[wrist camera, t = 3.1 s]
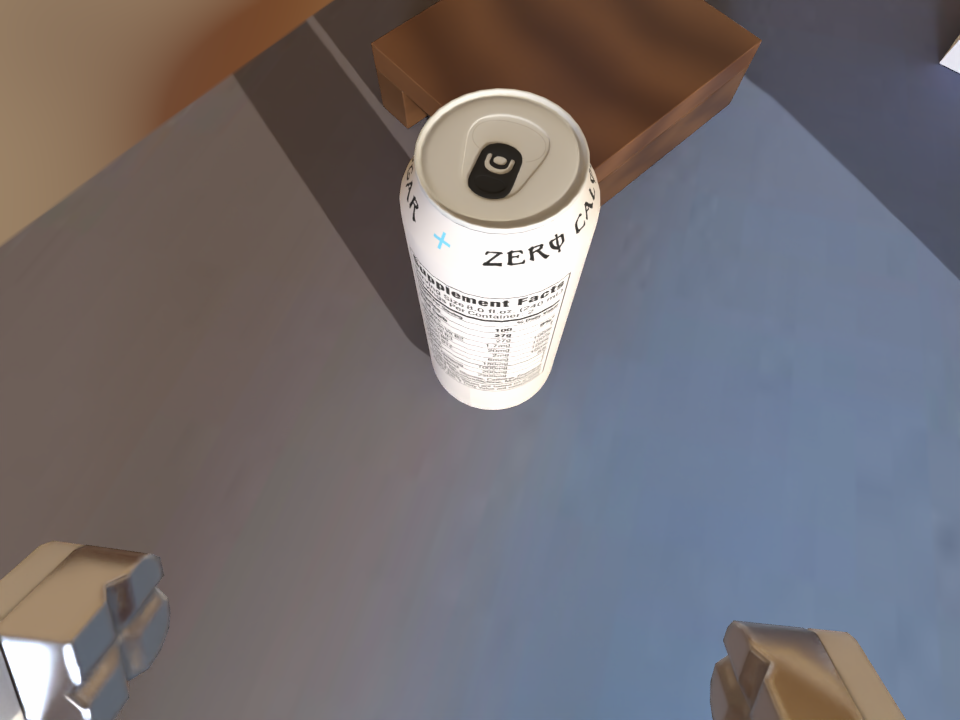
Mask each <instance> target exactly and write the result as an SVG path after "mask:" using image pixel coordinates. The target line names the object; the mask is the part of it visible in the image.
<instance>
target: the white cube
mask: <svg viewBox="0 0 960 720" xmlns="http://www.w3.org/2000/svg"><path fill="white" fill-rule="evenodd" d="M940 64H942V65H944V66H946V67H948V68H950V69H952V70H954V71H956V72H958V73H960V35H959V36H958V37H957V39H956V40H955V42H954V43H953V44H952V46H951V47H950V49H949V50H948V51H947V53H946V54H945V56H944V57H943V59H942V60H941V61H940Z"/></svg>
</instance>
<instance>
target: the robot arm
mask: <svg viewBox="0 0 960 720" xmlns="http://www.w3.org/2000/svg"><path fill="white" fill-rule="evenodd" d="M163 576H164V572H163V568H162V564H161V560H160V557H158V556H155V555H153V554H148V553H141V552H134V551H127V550H120V549H113V548H106V547H99V546H92V545H79V544H72V543H66V542H59V541H51V542H49V543H46V544H43V545H40V546H39V547H38V548H37V549H35V550H34V551H33V552H32V553H31V554H30V555H29V556H28V557H26V558H25V559H24V560H23V561H22V562H21V563H20V564H19V565H17V566H16V567H15V568H14V569H13V570H12V571H11V572H10V573H8V574H7V575H6V576H5V577H4V578H3V579H2V580H1V581H0V720H114V719H115V718H116V716H117V715H118V713H119V712H120V710H121V709H122V707H123V706H124V704H125V703H126V701H127V700H128V698H129V686H128V681H130V680H131V679H133V678H134V677H136V676H138V675H139V674H141V673H142V672H144V671H145V670H147V669H149V667H150V666H151V664H152V663H153V661H154V660H155V658H156V657H157V655H158V654H159V652H160V650H161V648H162V646H163V643H164V640H165V637H166V635H167V632H168V629H169V622H170V606H169V600H168V598H167V597H166V596H165V595H164V594H163V593H162V592H161V591H160V590H159V589H158V587H157V586H156V585H157V584H158V583H159V581H160V580H161V579H162V577H163ZM723 642H724V645H725V647H726V650H727V653H728V655H727V656H726V657H724V658H723V659H721V660H720V661H719V662H717V663H716V664H715V667H714V671H713V674H712V678H711V683H710V705H711V711H712V718H713V720H906V719H905V717H904V716H903V714H902V713H901V711H900V709H899V708H898V706H897V705H896V703H895V701H894V700H893V698H892V697H891V695H890V693H889V692H888V690H887V688H886V687H885V685H884V684H883V682H882V680H881V679H880V677H879V676H878V674H877V672H876V671H875V669H874V668H873V666H872V664H871V663H870V661H869V660H868V658H867V656H866V655H865V653H864V652H863V650H862V648H861V647H860V645H859V644H858V642H857V641H856V639H855V638H854V637H852V636H851V635H850V634H849V633H847V632H840V631H830V630H820V629H811V628H809V629H805V628H801V627H791V626H781V625H772V624H762V623H753V622H743V621H733V622H732V623H731V624H730V625H729V626H728V628H727V630H726V633H725V636H724V639H723Z"/></svg>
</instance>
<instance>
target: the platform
mask: <svg viewBox="0 0 960 720" xmlns="http://www.w3.org/2000/svg"><path fill="white" fill-rule="evenodd" d="M761 41H762V40H761V39H759V38H758V37H756V36H755V35H753V34H752V33H750V32H749V31H748V30H746V29H745V28H743V27H742V26H740V25H739V24H737V23H736V22H734V21H733V20H731V19H730V18H729V17H727V16H726V15H724V14H723V13H721V12H720V11H718V10H717V9H715V8H714V7H712V6H711V5H710V4H708V3H707V2H705V1H704V0H440V1H439V2H437V3H436V4H434V5H432V6H431V7H429V8H427V9H426V10H424V11H423V12H421V13H419V14H418V15H416V16H414V17H413V18H411V19H410V20H408V21H406V22H405V23H403V24H401V25H400V26H398V27H397V28H395V29H393V30H392V31H390V32H389V33H387V34H385V35H384V36H382V37H380V38H379V39H377V40H376V41H374V42H372V43H371V46H372V51H373V56H374V61H375V66H376V70H377V75H378V81H379V86H380V91H381V96H382V101H383V106H384V107H385V108H386V109H387V110H388V111H389V112H390V113H391V114H392V115H393V116H395V117H396V118H397V119H398V120H399V121H400V122H401V123H402V124H403V125H404V126H405V127H406V128H410V127H412V126H413V125H415V124H416V123H417V122H419V121H420V120H422V119H423V118H425V117H426V116H428V115H429V116H430V117H431V116H432V115H433V114H434V113H435V112H436V111H437V110H438V109H440V108H441V107H443V106H444V105H446V104H447V103H449V102H450V101H452V100H454V99H456V98H458V97H460V96H463V95H465V94H468V93H472V92H476V91H479V90H486V89H495V88H503V89H516V90H521V91H527V92H531V93H533V94H536V95H539V96H542V97H544V98H546V99H548V100H550V101H552V102H553V103H555V104H557V105H559V106H560V107H561V108H562V109H563V110H565V111H566V112H567V113H568V114H569V115H570V116H571V117H572V118H573V119H574V120H575V122H576V123H577V124H578V125H579V127H580V128H581V130H582V132H583V134H584V136H585V138H586V141H587V145H588V149H589V153H590V164H591V166H592V168H593V170H594V172H595V174H596V178H597V182H598V185H599V189H600V207H601V206H602V205H603V204H604V203H606V202H607V201H608V200H609V199H611V198H612V197H613V196H615V195H616V194H617V193H618V192H620V191H621V190H622V189H623V188H625V187H626V186H627V185H628V184H630V183H631V182H632V181H633V180H635V179H636V178H637V177H638V176H640V175H641V174H642V173H643V172H645V171H646V170H647V169H648V168H650V167H651V166H652V165H653V164H655V163H656V162H657V161H658V160H660V159H661V158H662V157H663V156H665V155H666V154H667V153H668V152H670V151H671V150H672V149H673V148H675V147H676V146H677V145H678V144H680V143H681V142H682V141H683V140H685V139H686V138H687V137H688V136H690V135H691V134H692V133H693V132H695V131H696V130H697V129H698V128H700V127H701V126H702V125H703V124H705V123H706V122H707V121H708V120H710V119H711V118H712V117H713V116H715V115H716V114H717V113H718V112H720V111H721V110H722V109H724V108H725V107H726V106H727V105H729V104H730V102H731V100H732V98H733V96H734V94H735V92H736V90H737V88H738V86H739V84H740V82H741V80H742V78H743V76H744V74H745V72H746V70H747V68H748V66H749V64H750V63H751V61H752V59H753V57H754V55H755V53H756V51H757V49H758V47H759V45H760V43H761Z"/></svg>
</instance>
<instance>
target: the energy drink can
mask: <svg viewBox="0 0 960 720" xmlns="http://www.w3.org/2000/svg"><path fill="white" fill-rule="evenodd" d="M399 198H400V208H401V216H402V220H403V225H404V230H405V235H406V240H407V244H408V249H409V254H410V259H411V264H412V268H413V273H414V278H415V283H416V288H417V292H418V297H419V302H420V307H421V312H422V317H423V321H424V326H425V331H426V336H427V341H428V345H429V350H430V355H431V360H432V365H433V367H434V370H435V373H436V376H437V378H438V379H439V381H440V383H441V384H442V386H443V387H444V388H445V389H446V390H447V391H448V392H449V393H450V394H451V395H452V396H454V397H455V398H456V399H458V400H459V401H461V402H463V403H465V404H467V405H470V406H472V407H476V408H480V409H490V410H497V409H505V408H509V407H512V406H516V405H519V404H521V403H522V402H524V401H526V400H528V399H529V398H531V397H532V396H533V395H534V394H535V393H536V392H538V391H539V389H540V388H541V387H542V385H543V384H544V383H545V381H546V379H547V377H548V375H549V373H550V371H551V368H552V365H553V361H554V358H555V355H556V352H557V349H558V346H559V342H560V339H561V336H562V333H563V330H564V326H565V323H566V320H567V317H568V314H569V310H570V307H571V304H572V301H573V298H574V294H575V291H576V288H577V285H578V282H579V278H580V275H581V272H582V269H583V266H584V262H585V259H586V256H587V253H588V250H589V247H590V243H591V240H592V237H593V234H594V231H595V227H596V224H597V220H598V215H599V211H600V189H599V185H598V182H597V178H596V174H595V172H594V170H593V168H592V166H591V164H590V153H589V149H588V145H587V141H586V138H585V136H584V134H583V132H582V130H581V128H580V127H579V125H578V124H577V123H576V122H575V120H574V119H573V118H572V117H571V116H570V115H569V114H568V113H567V112H566V111H565V110H563V109H562V108H561V107H560V106H559V105H557V104H555V103H553V102H552V101H550V100H548V99H546V98H544V97H542V96H539V95H536V94H533V93H531V92H527V91H521V90H516V89H503V88H495V89H486V90H479V91H476V92H472V93H468V94H465V95H463V96H460V97H458V98H456V99H454V100H452V101H450V102H449V103H447V104H446V105H444V106H443V107H441V108H440V109H438V110H437V111H436V112H435V113H434V114H433V115H432V116H431V117H430V118H429V119H428V121H427V122H426V124H425V125H424V127H423V128H422V130H421V131H420V134H419V137H418V139H417V142H416V144H415V152H414V156H413V158H412V159H411V161H410V162H409V164H408V166H407V168H406V171H405V174H404V176H403V179H402V182H401V190H400V197H399Z"/></svg>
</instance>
